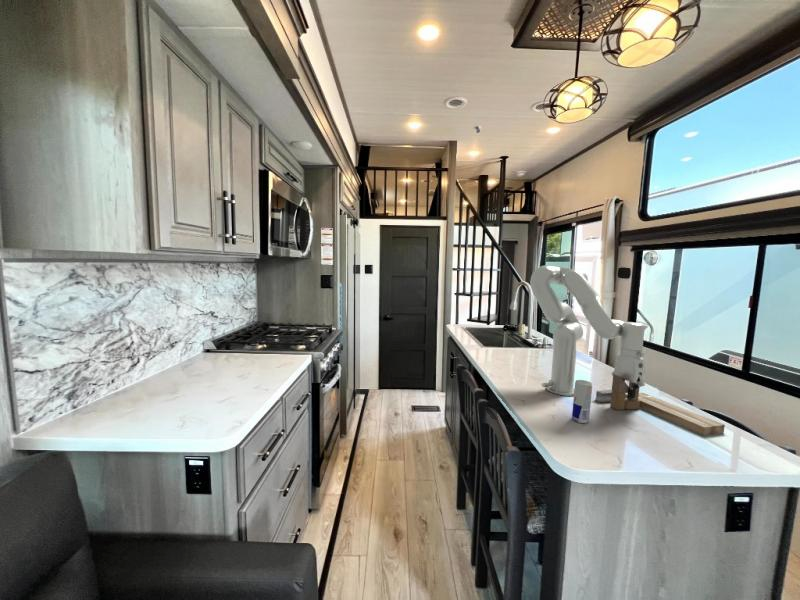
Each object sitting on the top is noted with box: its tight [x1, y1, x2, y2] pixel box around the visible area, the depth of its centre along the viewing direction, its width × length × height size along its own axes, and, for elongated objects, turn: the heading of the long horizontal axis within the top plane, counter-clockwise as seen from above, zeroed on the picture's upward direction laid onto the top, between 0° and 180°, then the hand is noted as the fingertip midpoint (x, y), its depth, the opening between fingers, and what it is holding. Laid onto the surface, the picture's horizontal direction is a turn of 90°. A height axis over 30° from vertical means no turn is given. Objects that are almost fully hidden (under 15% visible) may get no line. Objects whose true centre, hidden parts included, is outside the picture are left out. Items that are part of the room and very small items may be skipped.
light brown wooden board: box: [625, 392, 726, 437], centre depth 130 cm, size 10×30×3 cm, turn 15°
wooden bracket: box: [609, 374, 641, 411], centre depth 134 cm, size 4×11×18 cm, turn 100°
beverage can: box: [571, 379, 593, 424], centre depth 122 cm, size 6×6×15 cm
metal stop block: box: [595, 389, 612, 403], centre depth 143 cm, size 10×3×4 cm, turn 105°
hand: (625, 395), depth 135 cm, fingers closed on wooden bracket, 3 cm apart
